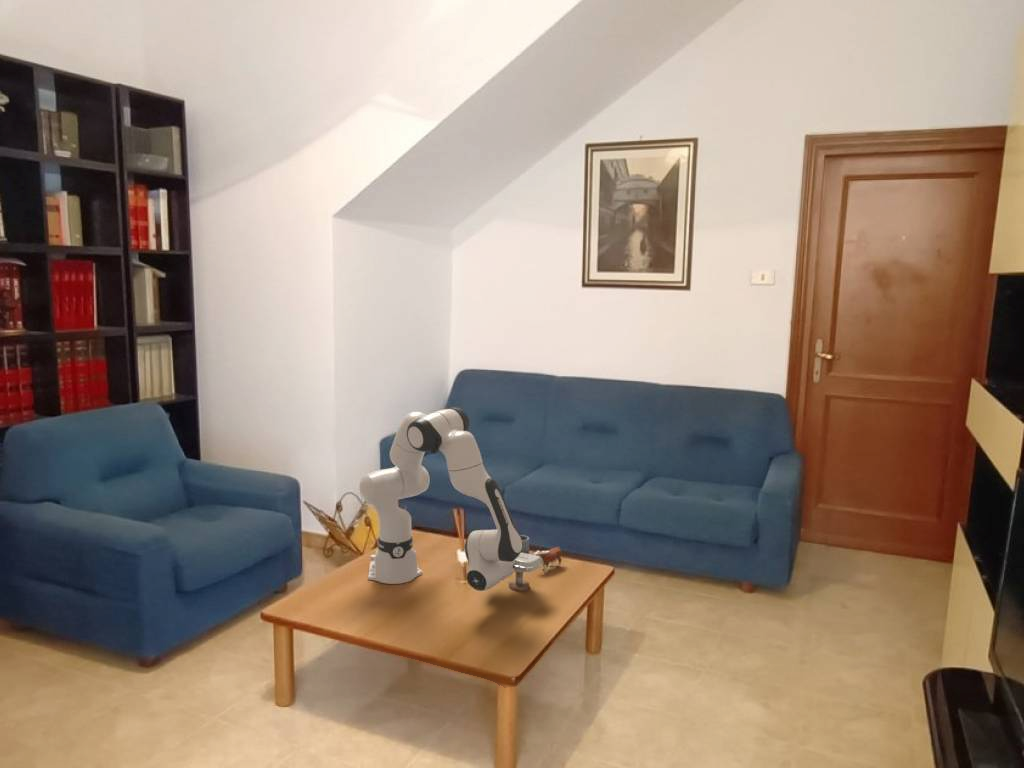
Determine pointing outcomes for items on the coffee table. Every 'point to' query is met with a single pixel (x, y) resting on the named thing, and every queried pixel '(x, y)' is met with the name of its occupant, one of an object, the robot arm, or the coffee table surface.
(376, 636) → the coffee table surface
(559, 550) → the bull figurine
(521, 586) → the pin stand
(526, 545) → the sleeve
